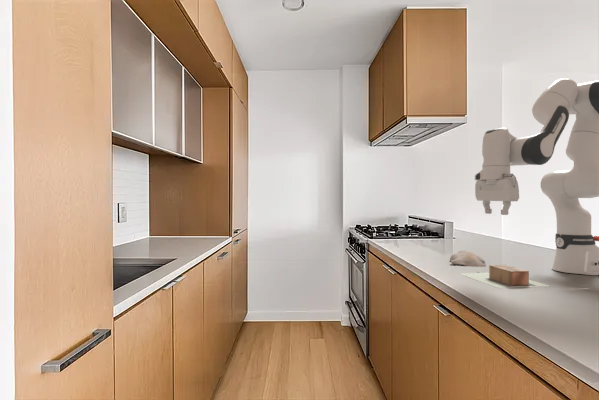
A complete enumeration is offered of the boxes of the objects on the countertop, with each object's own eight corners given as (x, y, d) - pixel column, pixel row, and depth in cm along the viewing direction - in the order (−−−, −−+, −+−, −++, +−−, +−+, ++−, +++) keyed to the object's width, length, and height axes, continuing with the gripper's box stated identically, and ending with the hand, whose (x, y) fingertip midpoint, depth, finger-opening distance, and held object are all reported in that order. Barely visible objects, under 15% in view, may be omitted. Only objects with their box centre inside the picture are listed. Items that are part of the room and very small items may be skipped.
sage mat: (503, 273, 155) (503, 272, 155) (550, 287, 131) (550, 285, 131) (458, 274, 153) (458, 273, 153) (498, 289, 129) (498, 287, 129)
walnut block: (505, 264, 144) (529, 271, 132) (505, 277, 145) (529, 285, 132) (489, 265, 144) (511, 271, 132) (489, 278, 144) (511, 285, 132)
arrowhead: (450, 255, 173) (450, 245, 201) (449, 267, 173) (449, 255, 201) (487, 258, 168) (481, 247, 196) (486, 270, 168) (481, 257, 197)
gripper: (524, 173, 135) (524, 215, 135) (487, 175, 155) (487, 212, 155) (506, 173, 134) (506, 215, 134) (471, 175, 154) (472, 213, 154)
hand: (496, 214), depth 145 cm, fingers open, 8 cm apart
